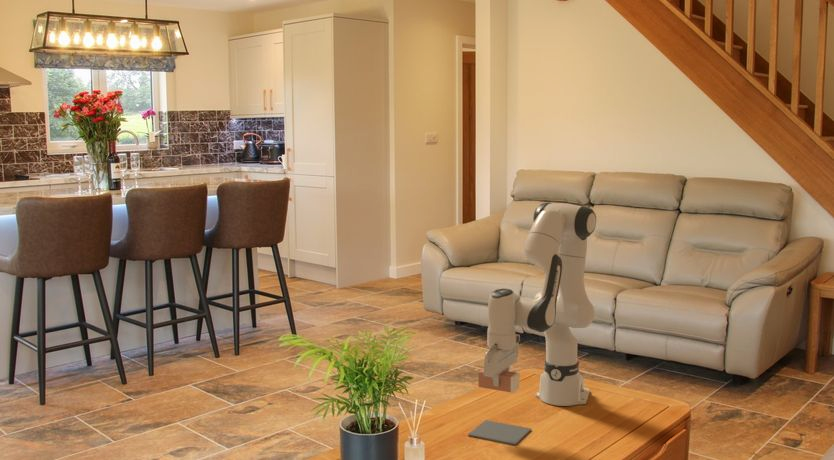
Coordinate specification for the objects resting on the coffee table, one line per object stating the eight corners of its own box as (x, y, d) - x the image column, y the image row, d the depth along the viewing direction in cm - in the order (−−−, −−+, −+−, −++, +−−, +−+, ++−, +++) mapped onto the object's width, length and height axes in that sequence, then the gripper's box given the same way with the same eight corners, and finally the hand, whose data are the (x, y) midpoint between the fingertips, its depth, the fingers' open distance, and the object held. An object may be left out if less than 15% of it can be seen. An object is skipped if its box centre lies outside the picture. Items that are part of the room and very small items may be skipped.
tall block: (484, 367, 257) (519, 373, 252) (484, 382, 258) (519, 388, 252) (478, 371, 253) (513, 377, 247) (478, 386, 254) (513, 392, 248)
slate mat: (485, 421, 264) (485, 419, 264) (531, 430, 257) (531, 428, 257) (468, 435, 252) (468, 434, 252) (515, 445, 245) (515, 443, 245)
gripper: (497, 350, 240) (497, 394, 242) (522, 334, 258) (521, 375, 260) (478, 347, 243) (478, 390, 245) (504, 332, 261) (503, 372, 263)
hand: (500, 382), depth 252 cm, fingers closed on tall block, 5 cm apart
